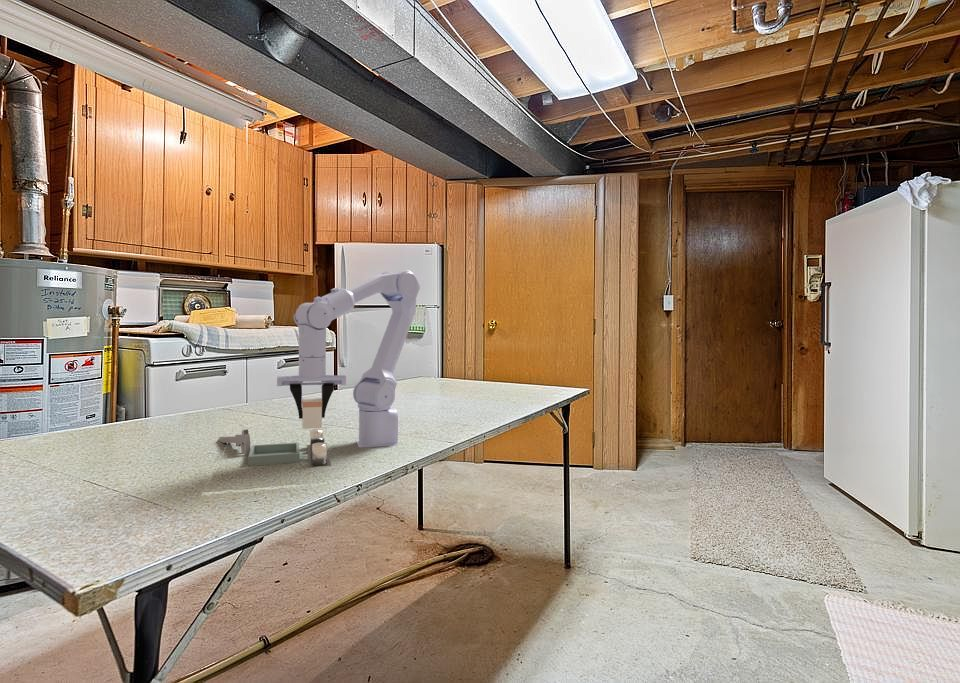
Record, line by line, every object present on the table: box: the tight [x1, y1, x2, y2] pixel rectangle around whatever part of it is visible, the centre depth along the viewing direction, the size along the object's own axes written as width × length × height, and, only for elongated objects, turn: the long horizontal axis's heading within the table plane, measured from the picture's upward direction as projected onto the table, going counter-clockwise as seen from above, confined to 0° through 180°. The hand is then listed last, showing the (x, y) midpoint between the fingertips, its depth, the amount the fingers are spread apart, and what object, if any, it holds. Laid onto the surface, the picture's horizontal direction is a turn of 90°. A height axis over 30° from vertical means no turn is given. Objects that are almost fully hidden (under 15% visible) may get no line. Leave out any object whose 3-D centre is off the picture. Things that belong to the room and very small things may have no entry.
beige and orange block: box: [301, 397, 323, 430], centre depth 115 cm, size 4×4×6 cm
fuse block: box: [306, 428, 332, 468], centre depth 116 cm, size 4×19×4 cm, turn 20°
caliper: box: [217, 428, 251, 456], centre depth 122 cm, size 20×1×6 cm, turn 43°
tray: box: [247, 442, 301, 467], centre depth 113 cm, size 10×10×2 cm
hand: (311, 417), depth 115 cm, fingers closed on beige and orange block, 4 cm apart
